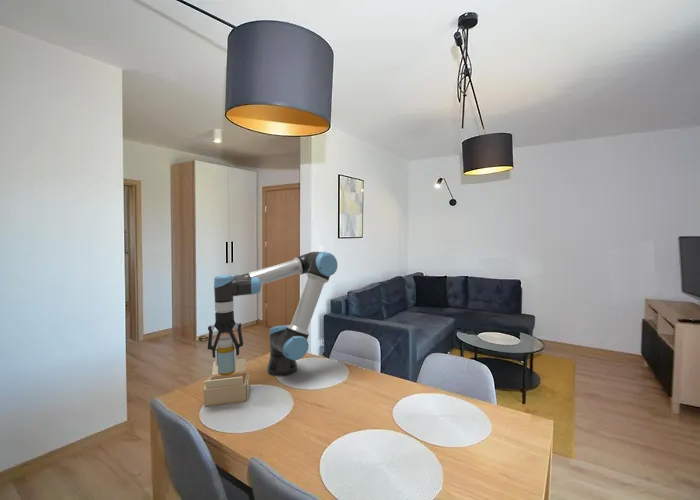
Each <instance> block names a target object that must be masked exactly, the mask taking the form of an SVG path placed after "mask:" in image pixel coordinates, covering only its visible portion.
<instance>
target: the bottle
mask: <svg viewBox="0 0 700 500" xmlns="http://www.w3.org/2000/svg"><path fill="white" fill-rule="evenodd" d="M234 348H235V345H234V342H233V340H232V338H231V336H222V337H220V338H219V340H218V343H217V349H218V350H217V358H218V373H219V374H220V375H222V376H226V375H230V374H235V373H234V372H235V362H234ZM220 375H219V376H220Z"/></svg>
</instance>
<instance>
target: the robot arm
mask: <svg viewBox="0 0 700 500" xmlns="http://www.w3.org/2000/svg"><path fill="white" fill-rule="evenodd" d="M337 270H338V260H337V258H336V256H335V255H334V254H333V253H331V252H327V251H310V252H308V253H305V254H302V255H298V256H295V257H294V258H293V259H292V260H288V261H285V262H282V263H278V264H275V265H271V266H267V267H264V268H259V269H257V270H253V271H250V272H247V273H243V274H236V275H232V274H218V275H216V276H215V277H214V280H213V282H214V283H213V284H214V285H213V290H214V311H215V313H214V314H215V315H214V316H215V317H214V319H215V323H214V324H210V325H208V327H207V330H208V338H207V339H208V341H207V350H209V351H212V358H213V359H214V360H215V361H214V362H215V363H216V366H218V358H217V350H218V348H217V347H218V340H219V338H221V334H224V333H227V334H229V337H231V338H232V340H233V346H234V362H235V364H236V363H237V359H238V356H239V355H240V348H241V347H243V346H244V340H243V339H244V338H243V333H242V322H239V323H238V322H236V321H235V311H234V297H238V296H249V295H257V294H260V293H261V292H262V291H261V290H262V285H267V284H268V283H269V284H270V283H272V282H275V281H280V280H282V279H284V278H288V277H292V276H295V275H298V276H299V275H300V276H301V275H305V274H306V275H307V280H306V282H305V285H304V288H303V291H302V293H301V296H300V299H299V301H298V303H297V307H296V310H295V312H294V315H293V317H292V320H291V323H290V324H282V325H276V326H271V327H270V328H269V333H268V335H269V349H270V351H269V353H270V354H269V355H270V357H269V361H268V364H267V368H266V369H267V374H269V375H271V376H274V377H275V376H276V377H281V376H282V377H283V376H288V375H292V374H294V373H295V372H297V370H298V364H297V360H300V359H302V358H303V357H304V356H306V355H307V353H308V350H309V341H308V339H309V336H310V333H309V330H308V329H309V327H310V324H311V322H312V318H313V316H314V313H315V309H316V307H317V304H318V302H319V299H320V296H321V293H322V291H323V288H324V286H325V284H326V283H328V282H329V280H330V277H331V276H332V275H334V274H336V273H337ZM234 327H235V329H237V335H238V339H237V338H236V335H235V333H234V330H233V329H234ZM215 329H216V330H217V334H216V337H215V340H214V342H213V336H214V335H213V334H214V330H215ZM238 340H239V342H238Z"/></svg>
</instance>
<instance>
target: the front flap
mask: <svg viewBox="0 0 700 500" xmlns="http://www.w3.org/2000/svg"><path fill="white" fill-rule="evenodd" d="M203 382H204V386H205V385H206V388H207V389H209V388H218V387H226V386H234V385H242V384H243V378H242V377H233V378H225V379H216V380H208V379H207V380H204V381H203Z"/></svg>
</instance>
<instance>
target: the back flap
mask: <svg viewBox="0 0 700 500" xmlns="http://www.w3.org/2000/svg"><path fill="white" fill-rule="evenodd" d="M212 363H213V365H212V376H220V374H219V373H218V366H216V363H215V361H213V362H212ZM238 373H247V358H246V357H245V358H237V363H236V364H235V372H234V373H233V374H238Z"/></svg>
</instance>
